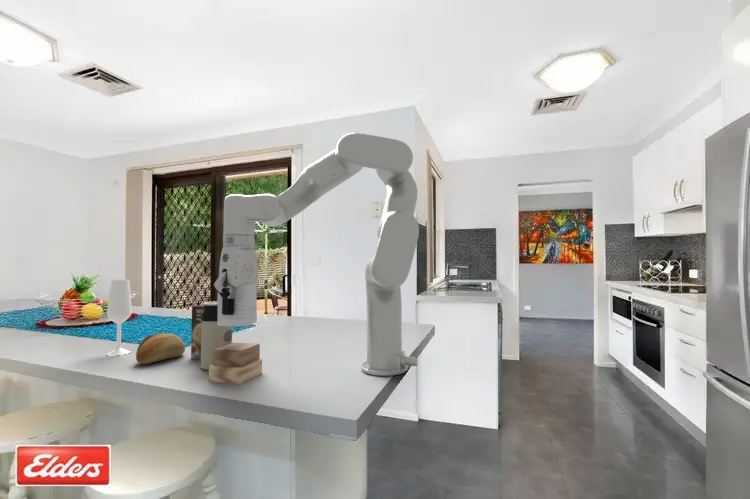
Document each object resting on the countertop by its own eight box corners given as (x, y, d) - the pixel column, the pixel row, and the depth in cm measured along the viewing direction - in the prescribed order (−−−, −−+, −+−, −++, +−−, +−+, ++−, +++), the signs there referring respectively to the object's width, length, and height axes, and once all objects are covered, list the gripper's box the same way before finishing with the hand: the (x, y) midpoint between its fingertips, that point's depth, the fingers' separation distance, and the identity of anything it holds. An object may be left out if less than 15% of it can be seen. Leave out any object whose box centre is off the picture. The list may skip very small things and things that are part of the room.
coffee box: (189, 358, 109) (190, 305, 109) (205, 353, 115) (206, 303, 116) (213, 360, 106) (213, 306, 106) (228, 355, 112) (229, 304, 113)
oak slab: (262, 374, 93) (262, 359, 93) (239, 385, 85) (239, 368, 85) (233, 371, 96) (233, 356, 96) (208, 382, 87) (208, 365, 87)
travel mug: (194, 368, 98) (195, 303, 99) (218, 361, 105) (218, 300, 106) (214, 372, 94) (215, 304, 95) (237, 364, 101) (238, 301, 102)
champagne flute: (125, 355, 113) (127, 280, 114) (101, 356, 111) (103, 280, 113) (134, 350, 119) (136, 279, 120) (112, 351, 118) (114, 279, 119)
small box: (257, 323, 93) (257, 282, 94) (247, 326, 88) (248, 284, 88) (228, 322, 94) (228, 282, 94) (216, 326, 88) (217, 283, 89)
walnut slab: (259, 358, 94) (259, 343, 94) (242, 367, 86) (242, 350, 86) (232, 357, 95) (232, 342, 96) (213, 365, 88) (213, 349, 88)
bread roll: (124, 366, 101) (125, 337, 102) (168, 353, 116) (168, 328, 116) (151, 368, 99) (151, 339, 99) (192, 355, 113) (192, 330, 113)
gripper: (227, 240, 82) (225, 318, 82) (271, 244, 99) (270, 309, 98) (201, 241, 85) (199, 316, 84) (248, 245, 101) (247, 308, 100)
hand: (237, 312), depth 91 cm, fingers closed on small box, 6 cm apart
